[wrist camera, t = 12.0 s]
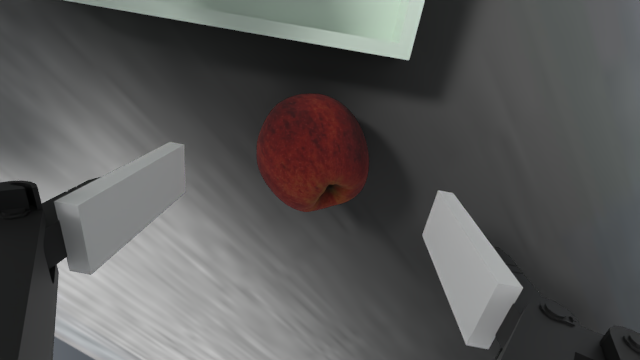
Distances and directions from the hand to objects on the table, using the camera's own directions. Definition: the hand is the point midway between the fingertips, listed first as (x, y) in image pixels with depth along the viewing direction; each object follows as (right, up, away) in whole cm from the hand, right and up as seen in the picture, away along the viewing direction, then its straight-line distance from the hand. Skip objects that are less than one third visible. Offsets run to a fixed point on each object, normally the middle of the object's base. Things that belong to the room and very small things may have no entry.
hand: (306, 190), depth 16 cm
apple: (0, +4, +8) cm, 9 cm away
